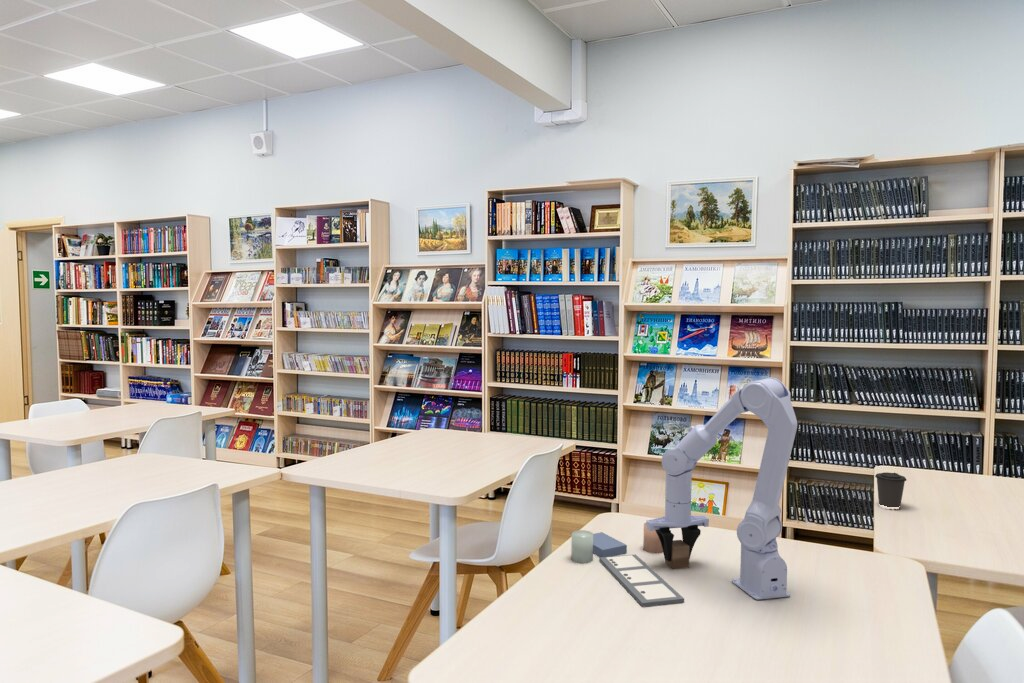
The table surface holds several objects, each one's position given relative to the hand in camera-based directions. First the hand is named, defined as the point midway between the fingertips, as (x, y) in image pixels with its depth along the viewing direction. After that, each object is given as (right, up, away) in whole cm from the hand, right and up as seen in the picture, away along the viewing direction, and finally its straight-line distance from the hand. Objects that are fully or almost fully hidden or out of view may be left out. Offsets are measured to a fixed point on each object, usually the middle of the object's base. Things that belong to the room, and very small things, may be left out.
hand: (676, 558), depth 154 cm
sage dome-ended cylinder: (-21, -1, +3) cm, 22 cm away
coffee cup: (+73, +1, +44) cm, 85 cm away
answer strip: (-10, -2, -9) cm, 13 cm away
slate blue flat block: (-16, -1, +10) cm, 19 cm away
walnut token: (0, -1, 0) cm, 1 cm away
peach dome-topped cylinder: (-3, -1, +10) cm, 10 cm away
